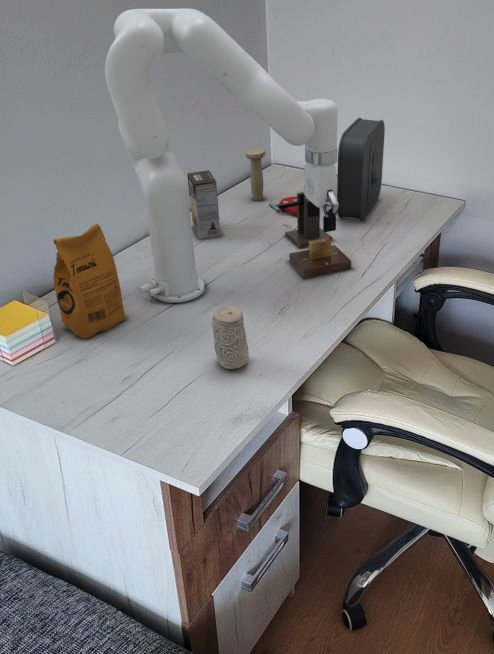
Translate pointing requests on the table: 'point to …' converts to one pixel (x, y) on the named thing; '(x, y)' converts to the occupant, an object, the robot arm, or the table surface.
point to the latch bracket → (306, 226)
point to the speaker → (360, 168)
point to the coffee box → (204, 204)
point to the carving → (230, 337)
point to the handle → (256, 172)
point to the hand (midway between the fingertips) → (321, 223)
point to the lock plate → (320, 263)
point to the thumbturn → (320, 248)
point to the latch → (287, 205)
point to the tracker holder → (290, 209)
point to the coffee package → (87, 284)
